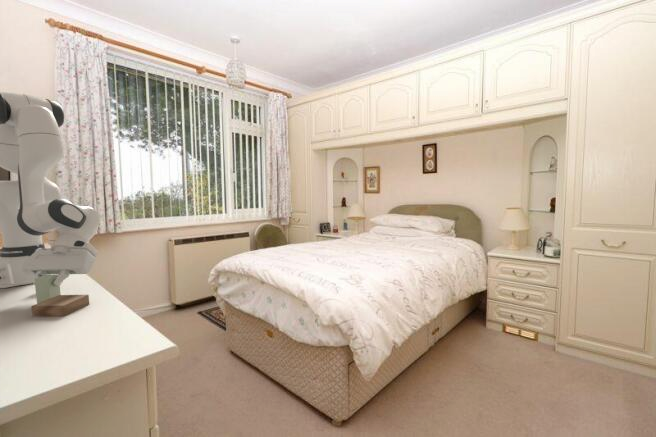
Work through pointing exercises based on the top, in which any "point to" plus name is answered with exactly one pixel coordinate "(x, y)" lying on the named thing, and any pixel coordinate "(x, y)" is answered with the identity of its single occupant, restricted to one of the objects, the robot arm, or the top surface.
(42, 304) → the plinth
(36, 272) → the robot arm
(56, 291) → the block
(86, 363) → the top surface
